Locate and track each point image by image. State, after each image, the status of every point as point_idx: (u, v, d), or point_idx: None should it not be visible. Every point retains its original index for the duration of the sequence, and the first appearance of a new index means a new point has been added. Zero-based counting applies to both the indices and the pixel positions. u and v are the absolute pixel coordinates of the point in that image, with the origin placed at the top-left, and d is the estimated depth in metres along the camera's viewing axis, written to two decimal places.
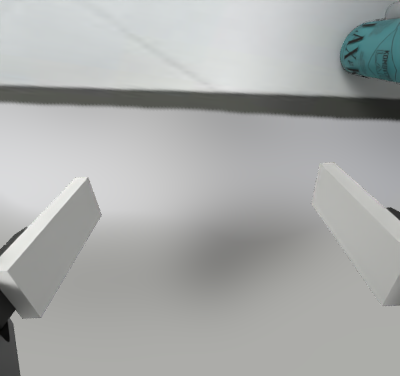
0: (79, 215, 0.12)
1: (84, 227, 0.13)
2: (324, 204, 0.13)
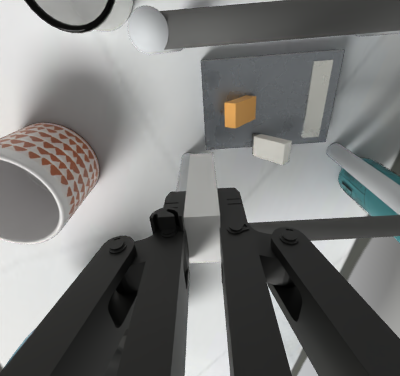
0: None
1: None
2: None
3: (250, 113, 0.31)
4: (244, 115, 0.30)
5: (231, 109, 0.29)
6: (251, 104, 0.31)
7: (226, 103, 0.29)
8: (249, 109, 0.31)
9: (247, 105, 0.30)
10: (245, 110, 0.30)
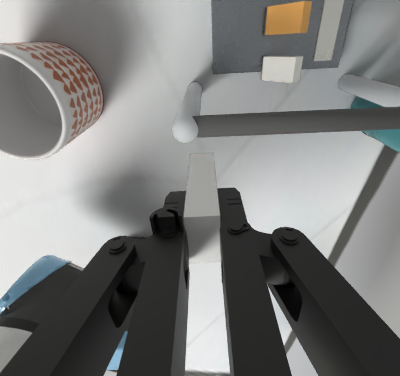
0: None
1: None
2: None
3: None
4: None
5: (308, 9, 0.27)
6: None
7: (304, 2, 0.27)
8: None
9: None
10: None
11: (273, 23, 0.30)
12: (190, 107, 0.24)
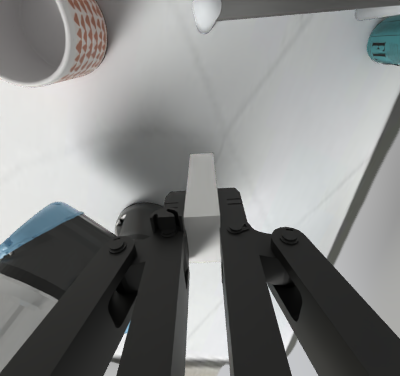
0: None
1: None
2: None
3: None
4: None
5: None
6: None
7: None
8: None
9: None
10: None
11: None
12: None
